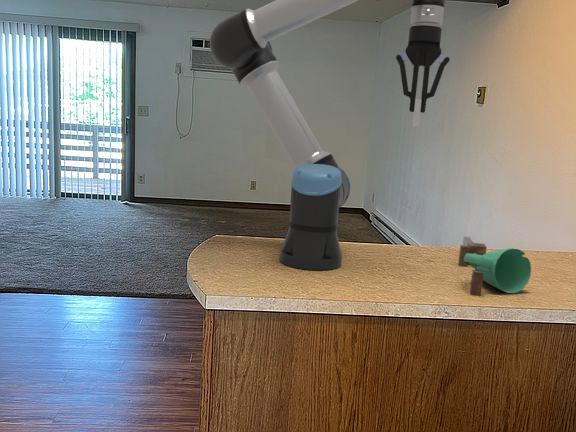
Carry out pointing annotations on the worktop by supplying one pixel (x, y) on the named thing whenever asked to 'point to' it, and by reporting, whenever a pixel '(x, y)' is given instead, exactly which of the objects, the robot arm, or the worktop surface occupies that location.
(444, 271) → the worktop surface
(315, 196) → the robot arm
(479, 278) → the brown blocks
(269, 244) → the worktop surface
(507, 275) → the mug
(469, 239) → the tie bar
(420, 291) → the worktop surface
